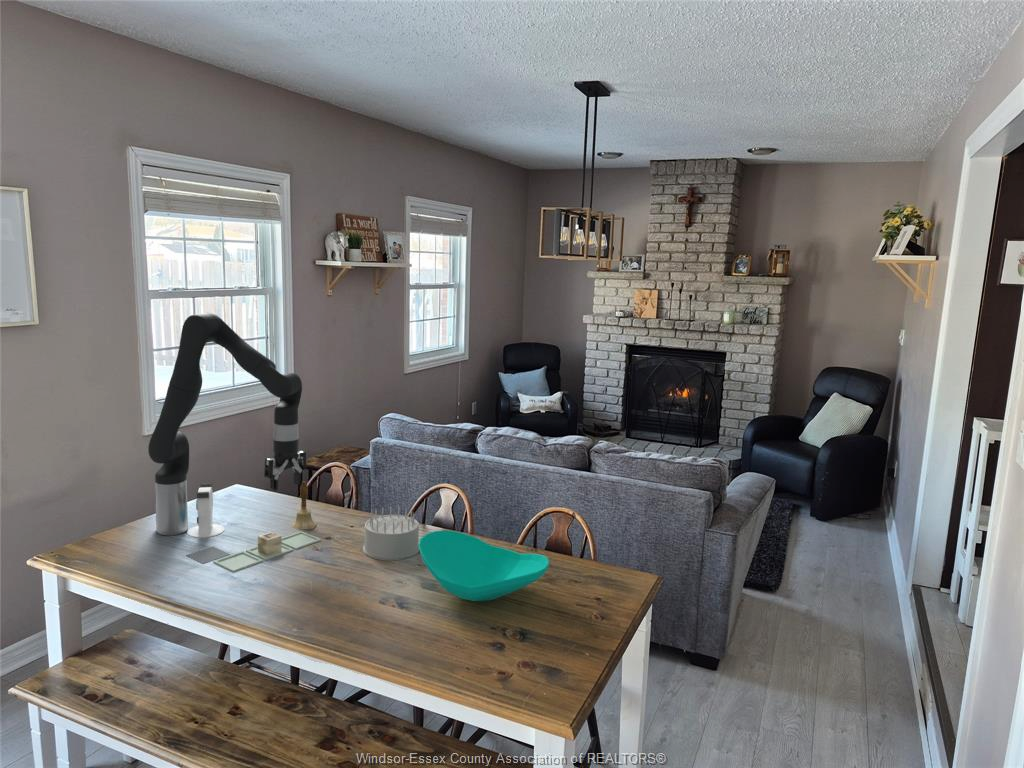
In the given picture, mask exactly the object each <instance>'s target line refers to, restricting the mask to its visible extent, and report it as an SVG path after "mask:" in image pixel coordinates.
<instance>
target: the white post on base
mask: <svg viewBox="0 0 1024 768" xmlns="http://www.w3.org/2000/svg"><path fill="white" fill-rule="evenodd" d="M213 496H214V493H213V483H211V482H210V483H200V487H199V488H198V491H197V493H196V500H195V501H196V502H195V506H196V507H195V508H196V511H197V516H196V524H198V525H195V526H193V527H190V528H188V530H187V531H186V532H187V535H188V536H189V537H192V538H197V539H208V538H212V537H213V538H214V537H217V536H220V535H221V534H223V533H224V532H225V527H224V526H222V525H220V524H215V523H213V522H214V521H213V505H214V497H213Z"/></svg>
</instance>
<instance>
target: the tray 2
mask: <svg viewBox="0 0 1024 768" xmlns="http://www.w3.org/2000/svg"><path fill="white" fill-rule="evenodd" d="M293 551H294V549H293V548H291V547H288V546H286V545H283V544H282V551H279V552H277V553H274V554H271V555H265V554H263V553H261V552H259V551H258V545H257V546H253V547H251V548H248V549H245V552H247V553H249V554H251V555H253V556H256V557H258V558H260V559H262V560H263V561H268V560H272V559H274V558H277V557H279V556H284V555H286V554H288V553H291V552H293Z"/></svg>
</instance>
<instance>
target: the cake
mask: <svg viewBox="0 0 1024 768" xmlns="http://www.w3.org/2000/svg"><path fill="white" fill-rule="evenodd" d="M400 508H401V507H400V506H398V508H397V514H392V506H390V507H389V514H386V515H385V514H384V507H382V508H381V515H379V516H377V513H378V510H377V509H375V510H374V511H375V512H374V513H375V515H374V517H373V508H371V510H370V511H371V512H370V514H369V519H368V520H366V522H365V524H364V544H363V546H362V552H363V554H364V555H365V556H366V557H369V558H370V559H375V560H378V561H387V562H388V561H390V562H392V561H401V560H406V559H409V558H412V557H414V556H415V555H417V554H418V553H419V552H420V549H419V546H418V545H419V541H420V538H419V532H420V523H419V521H418V520H417V519H415V513H413V511H412V509H411V510H410V516H407V514H408V513H407V512H408V508H405V509H404V511H405V514H404V515H403V514H402V515H401V514H400Z"/></svg>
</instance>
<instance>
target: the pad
mask: <svg viewBox="0 0 1024 768" xmlns="http://www.w3.org/2000/svg"><path fill="white" fill-rule="evenodd" d="M230 555H231V554H230V553H228V552H226V551H224V550H222V549H220V548H217V547H215V546H210V547H207V548H204V549H201V550H198V551H195V552H191V553H189V554H186V555H185V556H186V557H187V558H189V559H191V560H193V561H196V562H198V563H200V564H202V565H204V564H208V563H210V562H213V561H215V560H218V559H221V558H224V557H227V556H230Z"/></svg>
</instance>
